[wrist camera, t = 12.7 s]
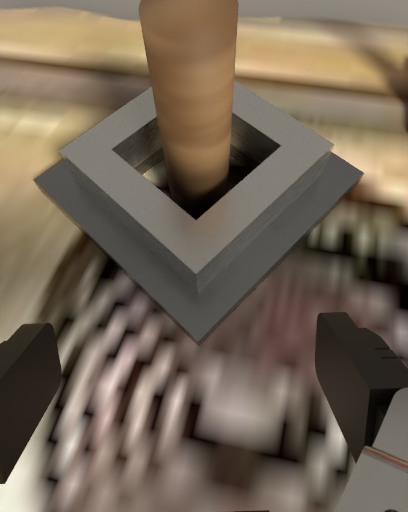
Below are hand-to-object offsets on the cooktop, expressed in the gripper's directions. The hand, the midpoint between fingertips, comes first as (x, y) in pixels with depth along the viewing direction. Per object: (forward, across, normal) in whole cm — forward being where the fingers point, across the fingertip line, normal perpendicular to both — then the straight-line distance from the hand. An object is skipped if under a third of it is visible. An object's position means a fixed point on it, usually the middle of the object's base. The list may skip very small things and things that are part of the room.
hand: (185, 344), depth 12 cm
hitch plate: (+14, 0, -3) cm, 14 cm away
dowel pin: (+14, 0, -3) cm, 14 cm away
